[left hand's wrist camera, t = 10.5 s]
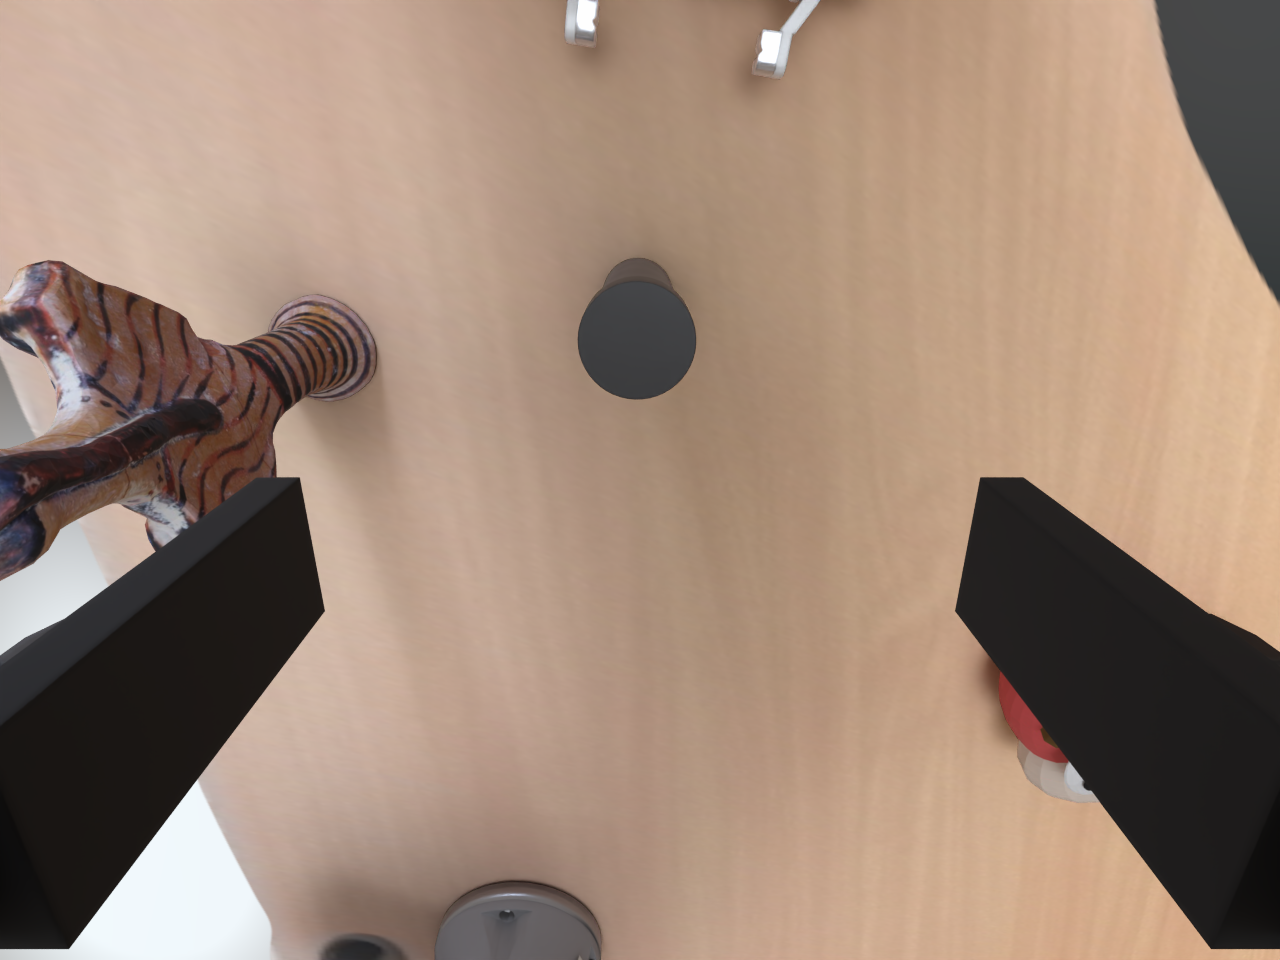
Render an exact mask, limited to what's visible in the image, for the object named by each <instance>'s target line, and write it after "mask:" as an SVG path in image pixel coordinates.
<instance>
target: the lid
mask: <svg viewBox="0 0 1280 960" xmlns="http://www.w3.org/2000/svg"><path fill="white" fill-rule="evenodd" d="M695 348H696V332H695V327H694V323H693V320H692V318H691V315H690V313H689V310H688V308H687V306H686V304H685V303H684V301H683V300H682V298H681V297H680V296H679V295H678V294H677V293H676V292H675V291H674V290H673V289H672V288H671V287H669V286H668V285H666V284H665V283H663V282H661V281H659V280H656V279H653V278H649V277H643V276H630V277H624V278H621V279H618V280H615V281H613V282H611V283H609V284H608V285H606V286H605V287H603V288H602V289H601V290H600V291H599V292H598V293H597V294H596V295H595V296H594V297H593V298H592V300H591V301H590V303H589V305H588V307H587V309H586V311H585V313H584V315H583V317H582V320H581V323H580V326H579V331H578V349H579V354H580V357H581V360H582V363H583V365H584V367H585V369H586V371H587V372H588V374H589V375H590V377H591V378H592V379H593V380H594V381H595V382H596V383H597V384H598V385H599V386H600V387H602V388H603V389H604V390H606V391H608V392H609V393H611V394H613V395H616V396H619V397H622V398H627V399H647V398H652V397H655V396H658V395H660V394H663V393H665V392H666V391H668V390H670V389H671V388H673V387H674V386H675V385H676V384H677V383H678V382H679V381H680V380H681V379H682V378H683V377H684V375H685V374H686V373H687V371H688V369H689V367H690V365H691V363H692V361H693V358H694V354H695Z"/></svg>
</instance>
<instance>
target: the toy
mask: <svg viewBox="0 0 1280 960" xmlns="http://www.w3.org/2000/svg"><path fill="white" fill-rule="evenodd" d="M999 698H1000V703H1001V706H1002V710H1003V713H1004V715H1005V718H1006V721H1007V722H1008V724H1009V726H1010V727H1011V729H1012V731H1013V732H1014V734H1015V735H1016V737H1017V738H1018V748H1017V757H1018V759H1019V762H1020V764H1021V766H1022V768H1023V771H1024V773H1025V775H1026V777H1027V779H1028V780H1029V781H1030V782H1031V783H1032V784H1034V785H1035V786H1037V787H1038V788H1039V789H1041V790H1042V791H1043V792H1045V793H1046V794H1047V795H1050V796H1052V797H1055V798H1059V799H1064V800H1068V801H1072V802H1076V803H1091V802H1099V800H1098V799H1097V798H1096V796H1095V795H1094V794H1093V792H1092V791H1091V790H1090V788H1089V787H1088V786H1087V784H1086V783H1085V782H1084V781H1083V779H1082V778H1081V777H1080V775H1079V774H1078V773H1077V771H1076V770H1075V769H1074V767H1073V766H1072V765H1071V763H1070V762H1069V761H1068V759H1067V758H1066V757H1065V755H1064V754H1063V753H1062V751H1061V750H1060V749H1059V748H1058V746H1057V745H1056V744H1055V742H1054V741H1053V740H1052V738H1051V737H1050V736H1049V734H1048V733H1047V732H1046V730H1045V729H1044V728H1043V726H1042V725H1041V724H1040V722H1039V721H1038V720H1037V718H1036V717H1035V716H1034V715H1033V713H1032V712H1031V711H1030V709H1029V708H1028V707H1027V705H1026V704H1025V703H1024V701H1023V700H1022V699H1021V697H1020V696H1019V695H1018V693H1017V692H1016V691H1015V689H1014V688H1013V687H1012V685H1011V684H1010V683H1009V681H1008V680H1007V679H1006V678H1005V676H1004V675H1003V674H1002V672H1001V671H1000V678H999Z"/></svg>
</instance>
